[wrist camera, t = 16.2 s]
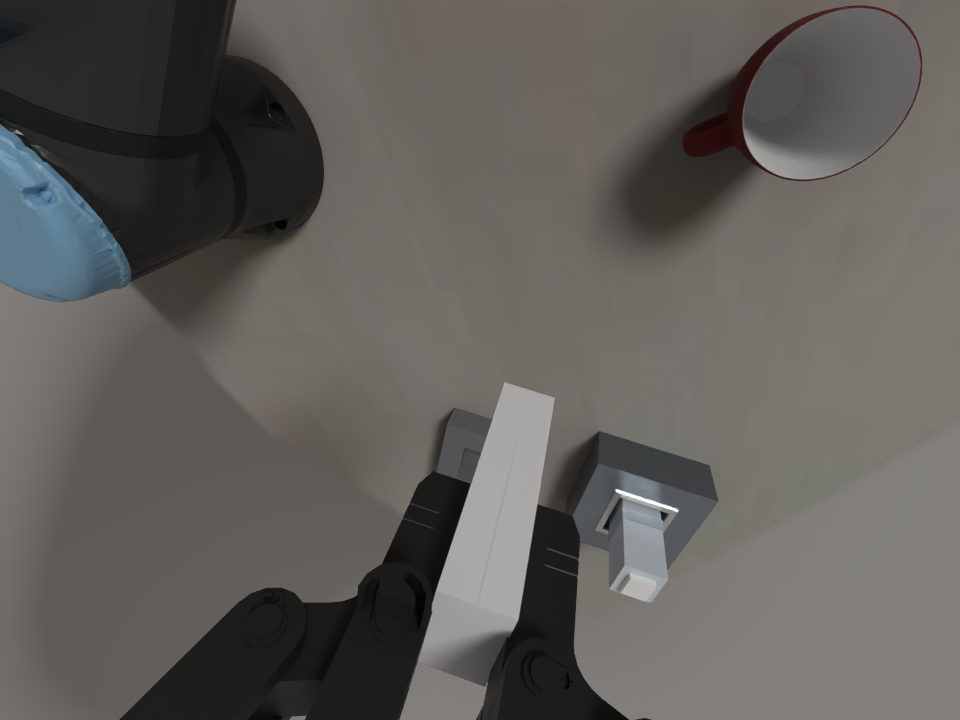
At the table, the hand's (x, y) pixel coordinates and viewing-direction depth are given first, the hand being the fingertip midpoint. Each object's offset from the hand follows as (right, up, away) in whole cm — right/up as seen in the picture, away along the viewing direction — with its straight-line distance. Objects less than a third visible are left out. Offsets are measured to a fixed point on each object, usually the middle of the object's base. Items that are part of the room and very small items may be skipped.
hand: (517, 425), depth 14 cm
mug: (+18, +20, +19) cm, 33 cm away
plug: (+16, -13, +39) cm, 44 cm away
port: (+16, -12, +40) cm, 45 cm away
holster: (0, -9, +42) cm, 43 cm away
